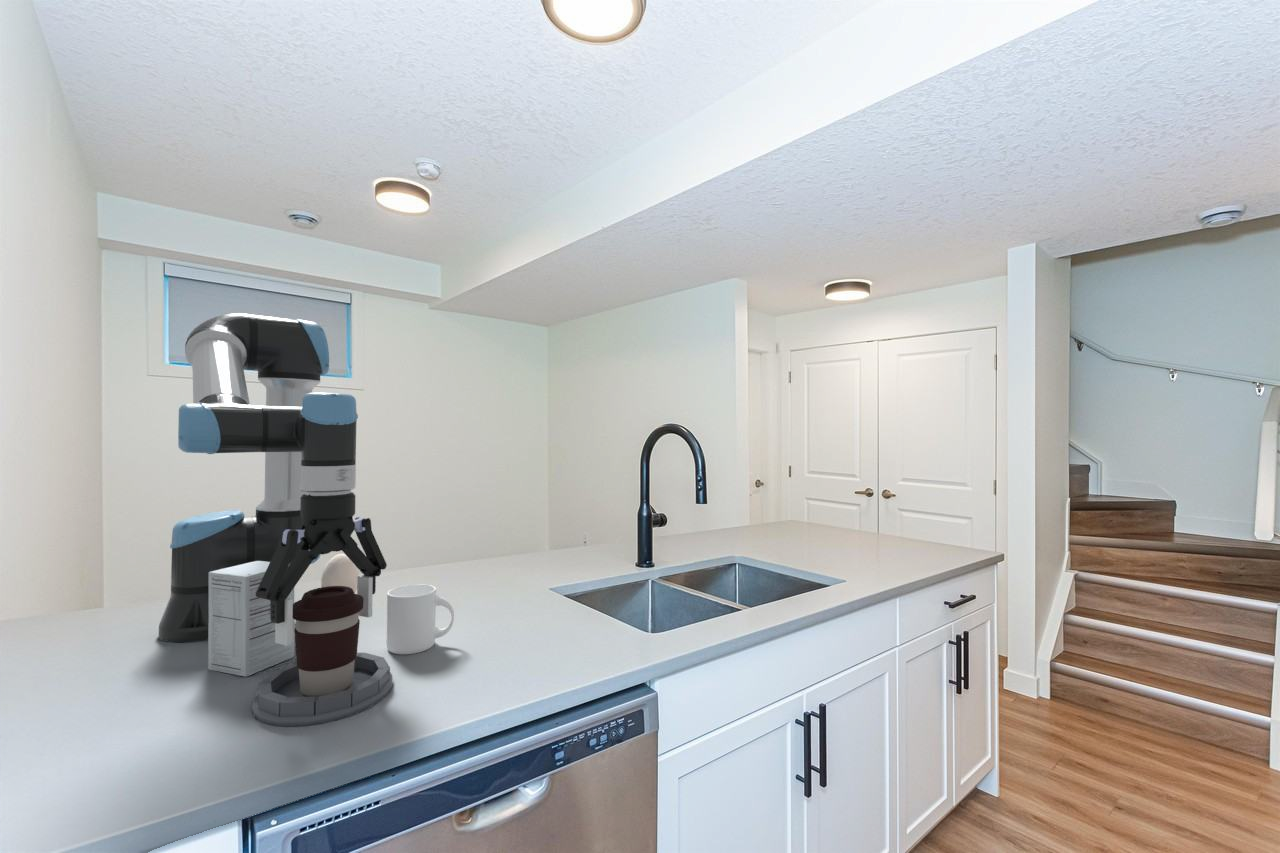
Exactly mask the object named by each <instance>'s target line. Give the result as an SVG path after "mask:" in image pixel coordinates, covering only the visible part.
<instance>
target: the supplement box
mask: <svg viewBox="0 0 1280 853" xmlns="http://www.w3.org/2000/svg"><path fill="white" fill-rule="evenodd" d="M269 564H270V562H266V561H254V562H249V563H245V564H241V565H237V566H233V567H228V568H224V569H219V570H215V571H211V572H209V624H208V639H207V640H208V644H207V646H208V648H207V649H208V651H207V655H208V656H207V662H208V663H207V664H208V665H207V667H208V670H210V671H214V672H221V673H225V674H229V675H235V676H241V677H245V678H246V677H249V676H251V675H253V674H256V673H259V672H261V671H264V670H266V669H268V668H272V666H276V665H278V664H281V663H282V662H283V663H284V662H285V661H287V660H290V659H293V658H294V657H295V619H292V644H291V645H288V646H286V645H282V644H278V643H275V623H273V622H271V620H270V613H271V612H270V605H271V603H270V600H267V599H263V598H258V597H256V591H257V589H258V587H259V585H260V583H261V581H262V578H263V576H264V574H265V572H266V570H267V568H268V566H269ZM287 598H290V599H293V604H294V603H295V587H294V588H293V590H292V591H291V593H290V594H289V595H288V597H287Z"/></svg>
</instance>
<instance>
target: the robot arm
mask: <svg viewBox="0 0 1280 853" xmlns="http://www.w3.org/2000/svg"><path fill="white" fill-rule="evenodd" d="M326 335H327V334H326V333H325V330H324V328H323V327H322V326H321V325H320V324H319V323H317V322H315V321H310V320H304V319H300V318H292V317H291V318H288V317H279V316H270V315H269V316H268V315H257V314H249V313H241V312H238V313H235V312H234V313H226V314H221V315H218V316H214V317H212V318H209V319H207V320H205V321H203V322H201V323H200V324H198V325H197V326H196V327H194V329H192V331H191V332H189V335H188V337H187V338H186V341H185V345H184V354H185V358H186V360H187V362H188V364H189V365H190V366H191V367H192V399H193V400H192V401H193V402H192V403H186V404H182V405H180V407H178V429H177V430H178V434H177V435H178V444H177V445H178V448H179V449H180V451H182V452H184V453H189V454H207V455H213V454H231V453H232V454H234V453H237V454H240V453H244V454H245V453H264V456H265V457H264V459H265V460H264V498H263V500H262V501H261V502H260V503H259V504H257V506H256V507H255V516H245V514H244V512H243V511H242V510H238V509H235V510H222V511H221V510H220V511H215V512H210V513H209V512H208V513H205V514H199V515H195V516H191V517H188V518H185V519H184V518H183V519H182V520H180V521H178V522H177V523H175V525H174V526H173V528H172V530H171V531H172V532H171V543H170V545H169V548H170V549H171V566H170V567H171V569H170V570H171V571H170V572H171V573H170V595H169V596H170V597H169V600H168V602H167V604H166V607H165V608H164V612H163V614H162V617H161V620H160V621H159V624H158V639H159V640H160V641H163V642H169V643H170V642H171V643H189V642H199V641H205V640H208V624H209V572H211V571H215V570H219V569H224V568H228V567H233V566H237V565H241V564H245V563H249V562H254V561H266V562H270V564H269V566H268V568H267V570H266V572H265V574H264V576H263V578H262V581H261V583H260V585H259V587H258V589H257V591H256V597H258V598H263V599H267V600H270V603H271V605H270V612H271V613H270V620H271V622H273V623H275V643H278V644H282V645H286V646H288V645H291V644H292V619H293V599H290V598H287V597H288V595H289V594H290V593H291V591H292V590H293V588H294V589H295V588H296V585H298V582H299V581H301V578H302V577H303V575H304V574H305V573H306V571H307V569H308V568H309V567H310V565H311V564H315V563H316V562H317V561H318V560H319V559H320V557H321V555H327V554H330V553H332V552H337V553H338V552H341V551H342V552H343V554H346V556H347V557H348V558H349V559H350V560H351V561H352V562H353V563H354V564H355V566H356V567H357V568H358V571H359V572H361V574H359V576H357V590H356V594H358V595H361V596H362V597H363V609H362V610H361V611H359V616H360V617H363V618H364V617H365V618H368V619H369V618H372V617H373V595H375V594H376V589H377V588H376V584H377V583H376V579H377V577H380V576H381V575H382V571H381V570H386V569H387V565H388V564H387V561H386V560H385V557H384V555H383V552H382V551H381V549H380V547H379V544H378V541H377V540H376V537H375V535H374V532H373V531H372V529H373V528H372V520H371V518H369V517H361V516H357V517H355V518H354V519H353V517H354V516H355V515H356V494H355V493H354V492H352V491H353V490H354V489H355V488H356V484H357V483H356V482H357V481H356V478H357V476H356V474H357V472H356V471H357V470H356V468H357V463H356V461H357V460H356V459H357V422H358V421H357V420H358V418H359V416H358V415H359V414H358V413H357V399H356V397H354V395H352V394H348V393H335V392H313V390H314V388H315V387H317V386H318V385H320V383H321V376H325V375H327V374H328V373H329V370H330V351H329V349H330V348H329V343H328V340H327V336H326ZM244 370H247V371H256V372H257V381H259V382H260V383H261V384H262V385H263V386H264V388H265V389H266V391H265V405H257V404H256V405H254V404H253V405H251V402H250V398H249V393H248V388H247V381H246V375H245V371H244ZM353 532H355V534H356V537H357V539H358V541H359V543H360V545H361V548H362V550H361V548H360V547H359V546H358V543H357V542H356V540H355V539H353V537H352V534H353Z"/></svg>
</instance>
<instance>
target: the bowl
mask: <svg viewBox="0 0 1280 853" xmlns="http://www.w3.org/2000/svg"><path fill="white" fill-rule="evenodd" d="M390 668H391V667H390V665H389V663H388V661H387V660H386V659H385V657H383V656H379V655H377V654H376V655H375V654H372V653H368V652H357V656H356V658H355V664H354V676H353V682H352V684H351V685H350V686H349V687H348V688H347V689H345V690H344V691H340V692H336V693H331V694H327V695H323V696H318V697H309V696H305V695H303V694H302V693H301V691H300V681H299V668H298V667H297V661H295V662H293V663H290V664H288V665H285V666H282V667H280V668H277V669H275V670H273V671H272V672H270V674H268V675H267V676H266V677H264V678H263V679H262V680H260V681H259V682H258V683H257V694H256V695H255V696H254V698H253V700H252V707H251V711H252V715H253V717H254V718H255V719H257V721H258V722H261V723H263V724H267V725H270V726H277V727H285V728H286V727H292V728H293V727H307V726H315V725H321V724H326V723H330V722H335V721H338V720H341V719H345V718H348V717H351V716H353V715H356V714H359V713H361V712H363V711H366V710H368V709H370V708H371V707H373V706H375V705H376V704H378V703H379V702H381V701H382V700H384V699H385V698H386V697H387V696H388V694H390V692H391V691H392V689H393V674H392V672H391V669H390Z"/></svg>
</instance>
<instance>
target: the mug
mask: <svg viewBox="0 0 1280 853" xmlns="http://www.w3.org/2000/svg"><path fill="white" fill-rule="evenodd" d="M386 594H387V595H386V648H387V650H388V651H389V652H390V653H392V654H394V655H403V656H404V655H413V654H418V653H421V652H425V651H427V650H429V649H430V648H432V647H433V646H434V644H435V642H436V639H438V638H441V637H444V636H446V635H447V634H448V633H449V632H450V630H451V629H452V626H453V625H454V620H455V612H454V608H453V606H452V605H451V603H450V602H449V601H448V600H447V599H445V598H444V597H442V596H440V595H437V588H436V587H435V586H434V585H430V584H425V583H424V584H422V583H421V584H420V583H416V584H415V583H414V584H406V585H405V584H404V585H399V586H397V587H394V588H391V589H389V590H388V591H387V593H386ZM437 606H439V607H440V606H441V607H444V608H446V609H448V610H449V612H450V614H451V620H450V622H449V623H448V625H447V626H445V627H444V628H440V627H436V624H437V622H436V619H437V618H436V616H437V614H436V613H437V608H436V607H437Z"/></svg>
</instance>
